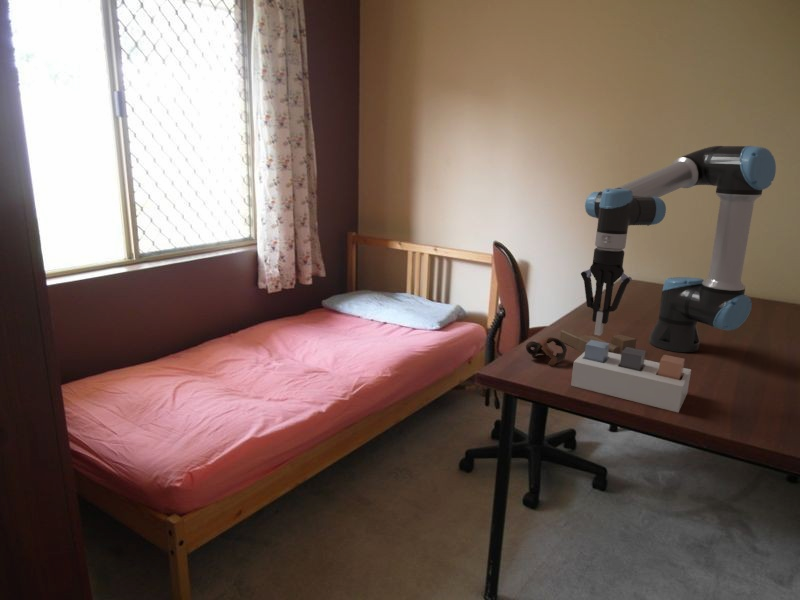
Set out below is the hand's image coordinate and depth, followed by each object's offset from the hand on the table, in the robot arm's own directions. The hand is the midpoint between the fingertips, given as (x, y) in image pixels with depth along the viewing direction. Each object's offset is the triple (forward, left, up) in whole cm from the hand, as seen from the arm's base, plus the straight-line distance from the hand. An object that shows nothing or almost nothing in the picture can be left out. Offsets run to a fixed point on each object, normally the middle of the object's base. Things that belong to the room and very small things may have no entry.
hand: (598, 333), depth 156 cm
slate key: (0, 0, -8) cm, 8 cm away
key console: (-8, +5, -14) cm, 17 cm away
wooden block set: (-9, -30, -15) cm, 34 cm away
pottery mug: (+10, -15, -14) cm, 23 cm away
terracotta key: (-16, +10, -8) cm, 21 cm away
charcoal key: (-8, +5, -8) cm, 12 cm away
